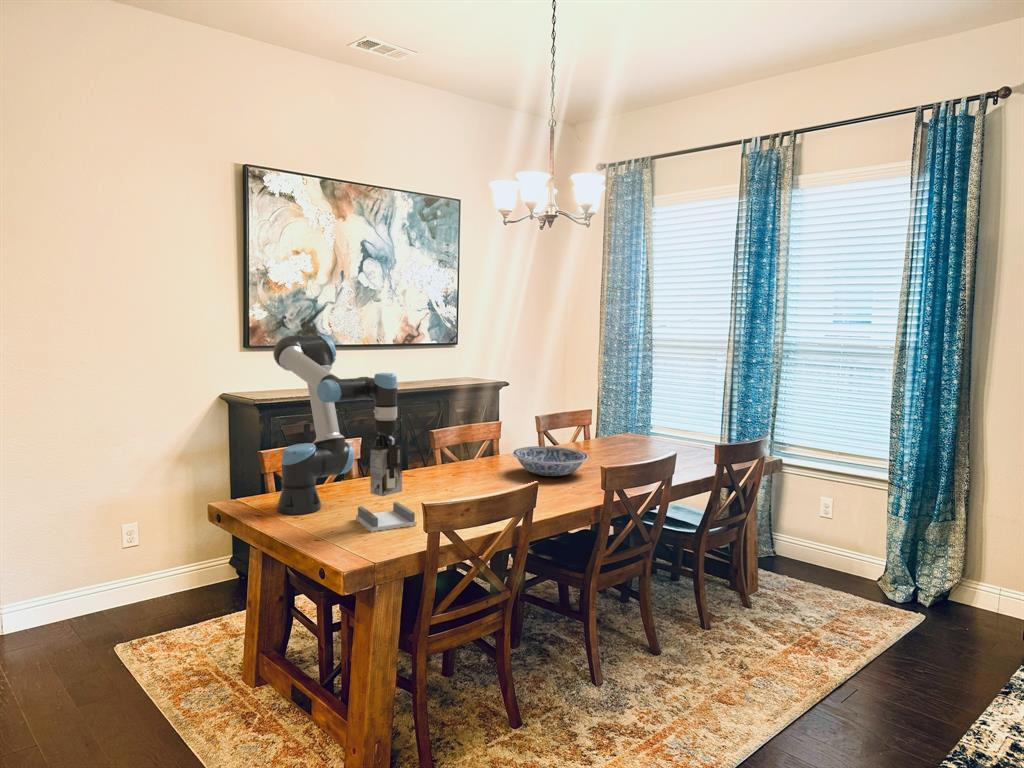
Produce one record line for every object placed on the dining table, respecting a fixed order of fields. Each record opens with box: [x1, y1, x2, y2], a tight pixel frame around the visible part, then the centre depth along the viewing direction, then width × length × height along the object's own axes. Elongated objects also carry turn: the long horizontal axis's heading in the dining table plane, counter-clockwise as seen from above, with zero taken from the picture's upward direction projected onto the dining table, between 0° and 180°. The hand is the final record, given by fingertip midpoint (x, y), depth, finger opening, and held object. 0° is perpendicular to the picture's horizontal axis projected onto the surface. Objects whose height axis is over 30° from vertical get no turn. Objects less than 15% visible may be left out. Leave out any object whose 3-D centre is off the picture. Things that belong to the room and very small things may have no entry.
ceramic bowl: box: [512, 445, 589, 477], centre depth 321 cm, size 34×34×10 cm
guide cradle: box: [355, 501, 417, 533], centre depth 243 cm, size 16×16×4 cm
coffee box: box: [369, 444, 403, 497], centre depth 241 cm, size 9×6×16 cm
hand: (386, 484), depth 241 cm, fingers closed on coffee box, 8 cm apart
